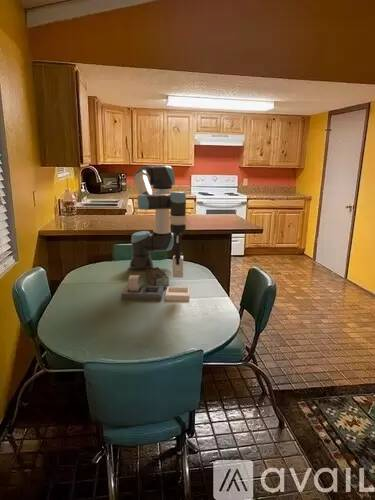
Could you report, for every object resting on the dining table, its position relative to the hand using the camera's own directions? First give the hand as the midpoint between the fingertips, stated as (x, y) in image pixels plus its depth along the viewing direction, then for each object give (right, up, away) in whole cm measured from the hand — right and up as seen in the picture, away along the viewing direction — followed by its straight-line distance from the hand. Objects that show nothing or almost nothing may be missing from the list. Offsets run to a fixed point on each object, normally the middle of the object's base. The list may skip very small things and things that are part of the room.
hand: (178, 268), depth 172 cm
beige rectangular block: (-23, -14, +4) cm, 27 cm away
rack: (-18, -14, +4) cm, 23 cm away
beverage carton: (-13, -9, +23) cm, 28 cm away
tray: (0, -14, +4) cm, 15 cm away
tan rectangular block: (0, -4, +1) cm, 4 cm away
